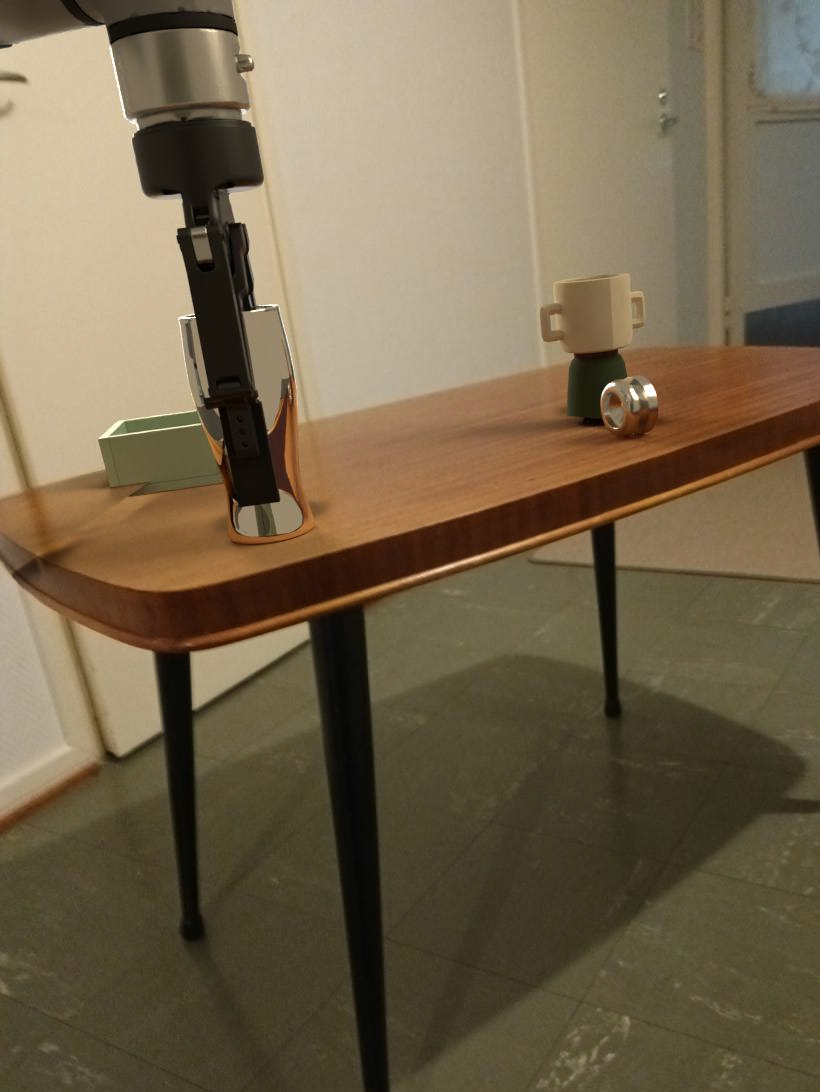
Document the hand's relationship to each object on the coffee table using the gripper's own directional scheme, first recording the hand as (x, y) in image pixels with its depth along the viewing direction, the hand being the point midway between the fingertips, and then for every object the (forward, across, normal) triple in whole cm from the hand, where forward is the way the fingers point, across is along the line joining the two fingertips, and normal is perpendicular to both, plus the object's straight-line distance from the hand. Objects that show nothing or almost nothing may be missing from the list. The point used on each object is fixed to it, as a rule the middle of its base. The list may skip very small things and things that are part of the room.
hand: (264, 490), depth 69 cm
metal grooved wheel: (+3, +16, -30) cm, 34 cm away
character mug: (+3, +25, -30) cm, 39 cm away
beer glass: (+3, 0, 0) cm, 3 cm away
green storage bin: (+3, +24, +11) cm, 27 cm away
